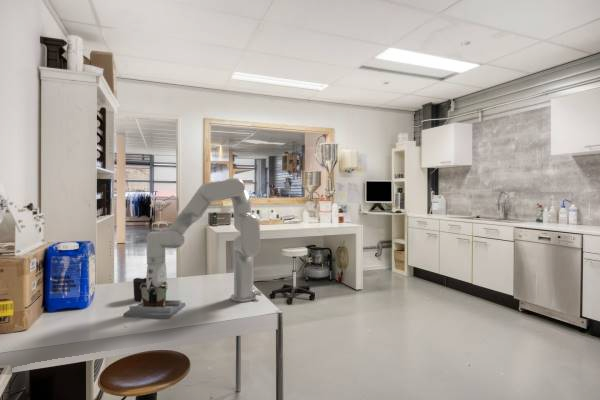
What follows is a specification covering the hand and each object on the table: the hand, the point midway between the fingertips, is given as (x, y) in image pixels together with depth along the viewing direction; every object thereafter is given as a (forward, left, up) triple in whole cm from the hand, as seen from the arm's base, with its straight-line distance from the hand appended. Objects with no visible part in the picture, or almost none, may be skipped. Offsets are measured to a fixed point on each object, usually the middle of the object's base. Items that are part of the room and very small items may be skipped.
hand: (156, 300), depth 151 cm
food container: (0, -1, -2) cm, 2 cm away
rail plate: (0, 0, -5) cm, 5 cm away
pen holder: (+14, -16, -5) cm, 22 cm away
